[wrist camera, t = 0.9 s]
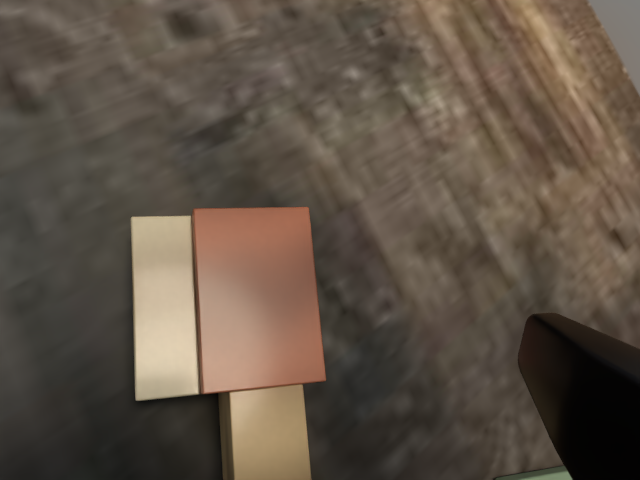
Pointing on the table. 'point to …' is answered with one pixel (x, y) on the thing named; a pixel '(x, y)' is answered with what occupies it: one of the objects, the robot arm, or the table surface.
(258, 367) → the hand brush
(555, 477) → the peg stand
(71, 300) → the table surface
